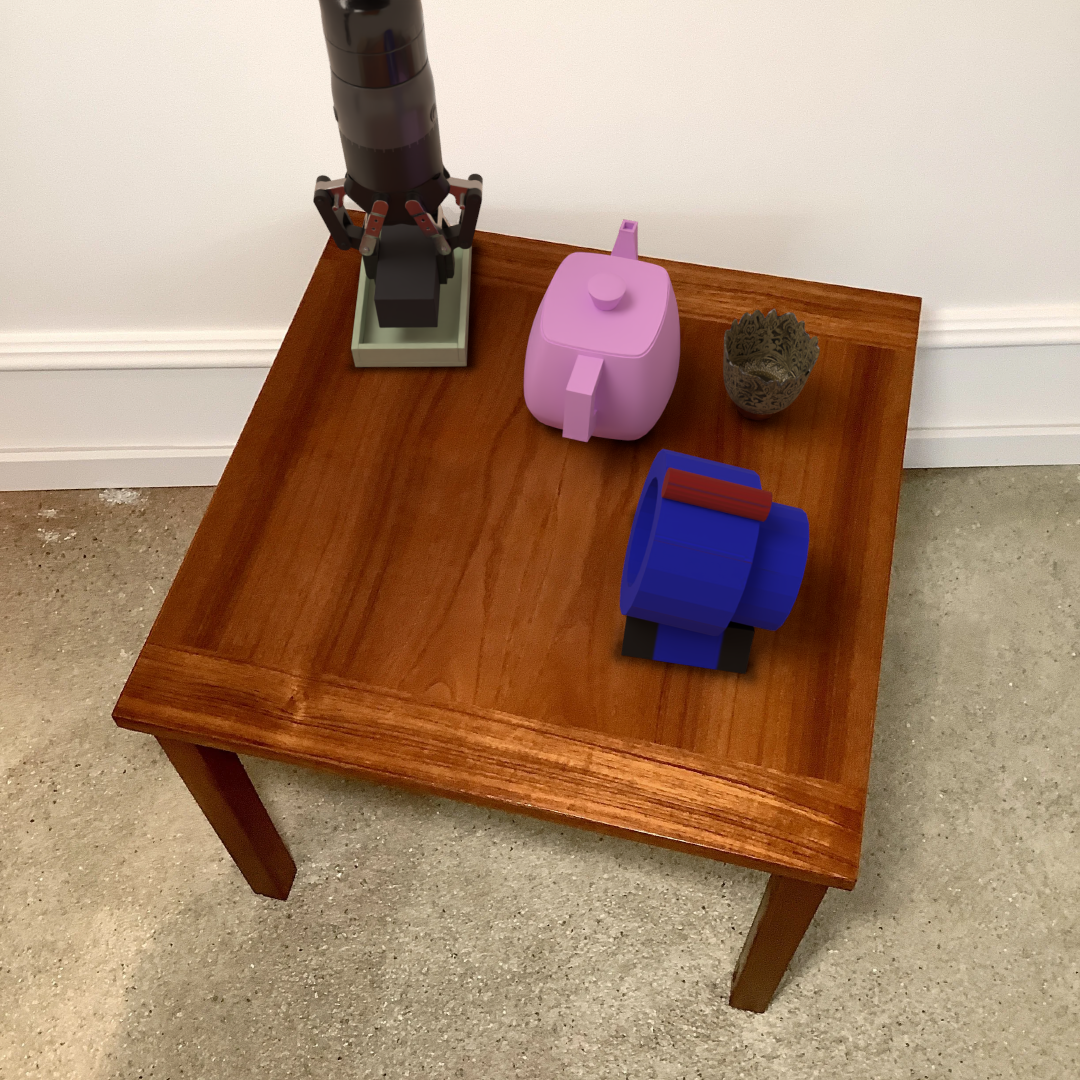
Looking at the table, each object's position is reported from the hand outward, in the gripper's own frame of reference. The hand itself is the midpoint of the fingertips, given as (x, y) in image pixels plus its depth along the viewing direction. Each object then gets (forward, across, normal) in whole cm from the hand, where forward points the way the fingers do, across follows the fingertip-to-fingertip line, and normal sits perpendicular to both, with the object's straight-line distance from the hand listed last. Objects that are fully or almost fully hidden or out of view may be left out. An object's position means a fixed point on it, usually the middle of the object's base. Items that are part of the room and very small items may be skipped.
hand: (411, 277), depth 96 cm
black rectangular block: (0, 0, 0) cm, 0 cm away
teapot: (+4, -16, +10) cm, 20 cm away
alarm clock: (+3, -24, +30) cm, 38 cm away
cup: (+4, -30, +12) cm, 32 cm away
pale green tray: (+3, 0, 0) cm, 3 cm away
